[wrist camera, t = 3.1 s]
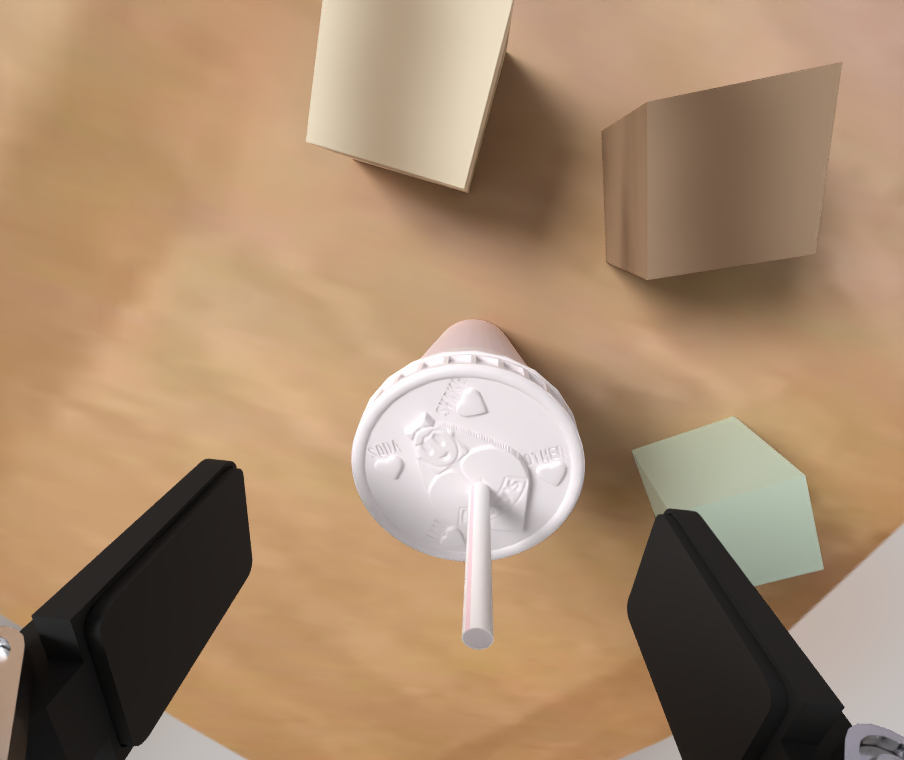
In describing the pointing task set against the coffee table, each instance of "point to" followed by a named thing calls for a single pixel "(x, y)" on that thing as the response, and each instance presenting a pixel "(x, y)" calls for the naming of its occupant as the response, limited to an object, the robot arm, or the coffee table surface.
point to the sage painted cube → (736, 496)
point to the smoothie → (469, 459)
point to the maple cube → (408, 83)
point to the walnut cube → (720, 175)
